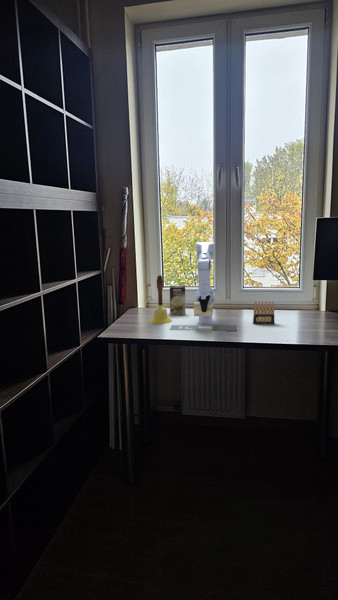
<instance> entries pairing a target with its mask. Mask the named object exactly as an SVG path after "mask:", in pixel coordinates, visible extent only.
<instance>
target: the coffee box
mask: <svg viewBox="0 0 338 600" xmlns="http://www.w3.org/2000/svg"><path fill="white" fill-rule="evenodd" d="M173 315H174V316H183V315H186V286H185V285H169V316H173Z"/></svg>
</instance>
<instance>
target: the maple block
mask: <svg viewBox="0 0 338 600" xmlns="http://www.w3.org/2000/svg"><path fill="white" fill-rule="evenodd" d="M199 316H212V317H213V316H214V305H213V302H208V306H207V312H202V310H201V305H200V302H196V301H195V302H193V317H199Z"/></svg>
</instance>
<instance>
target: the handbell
mask: <svg viewBox="0 0 338 600" xmlns="http://www.w3.org/2000/svg"><path fill="white" fill-rule="evenodd" d="M163 289H164V279H163V276H162V274H161V275H160V274H158V275H157V277H156V290H157V299H158V304H157V307H156V308H155V309H154V315H153V317H152V318H151V319H150V320H149V323H151V324H155V325H157V324H158V325H163V324H169V323H172V322H173V320H172V318H170V317H169V316H168V311H167V310H168V309H167V308H166V306H165V307H164V306H163V291H164V290H163Z"/></svg>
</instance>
